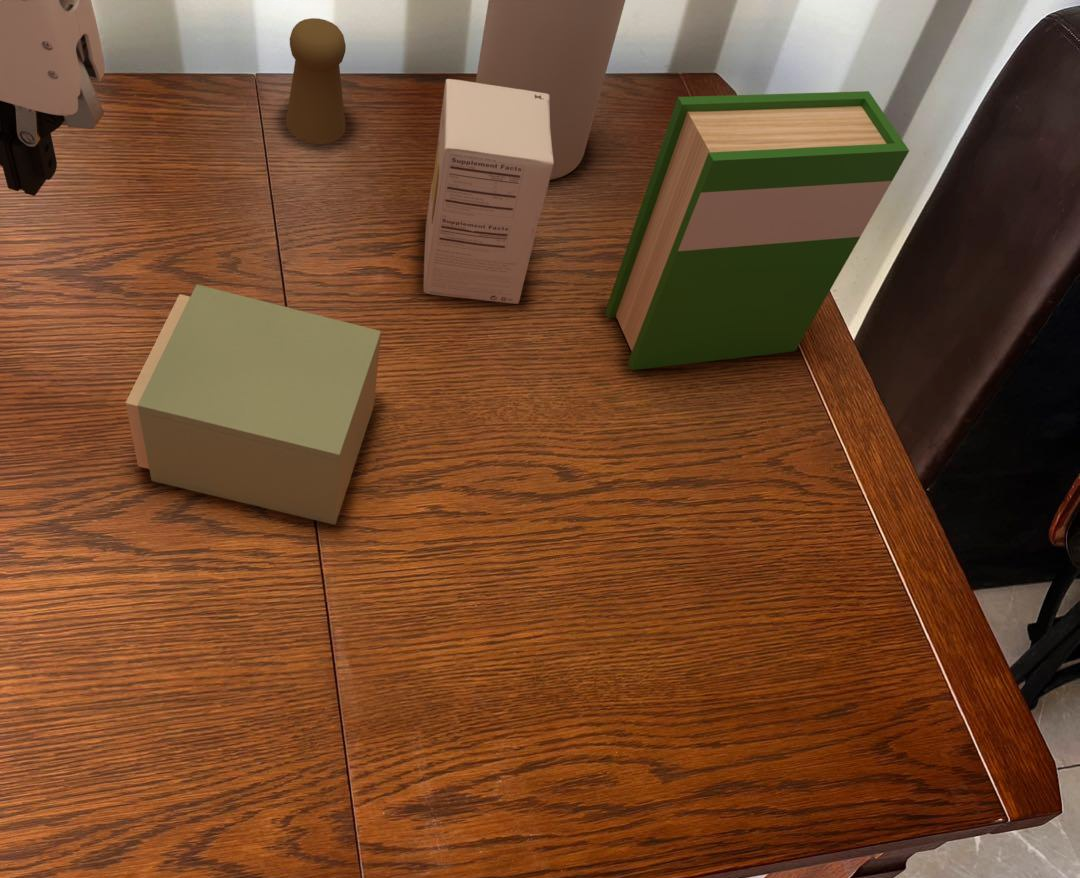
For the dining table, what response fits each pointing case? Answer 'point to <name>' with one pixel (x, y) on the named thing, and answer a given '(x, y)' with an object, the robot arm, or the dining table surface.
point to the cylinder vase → (553, 62)
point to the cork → (316, 82)
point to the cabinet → (260, 404)
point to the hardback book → (749, 222)
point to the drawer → (146, 376)
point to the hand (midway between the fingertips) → (32, 178)
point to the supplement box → (486, 190)
